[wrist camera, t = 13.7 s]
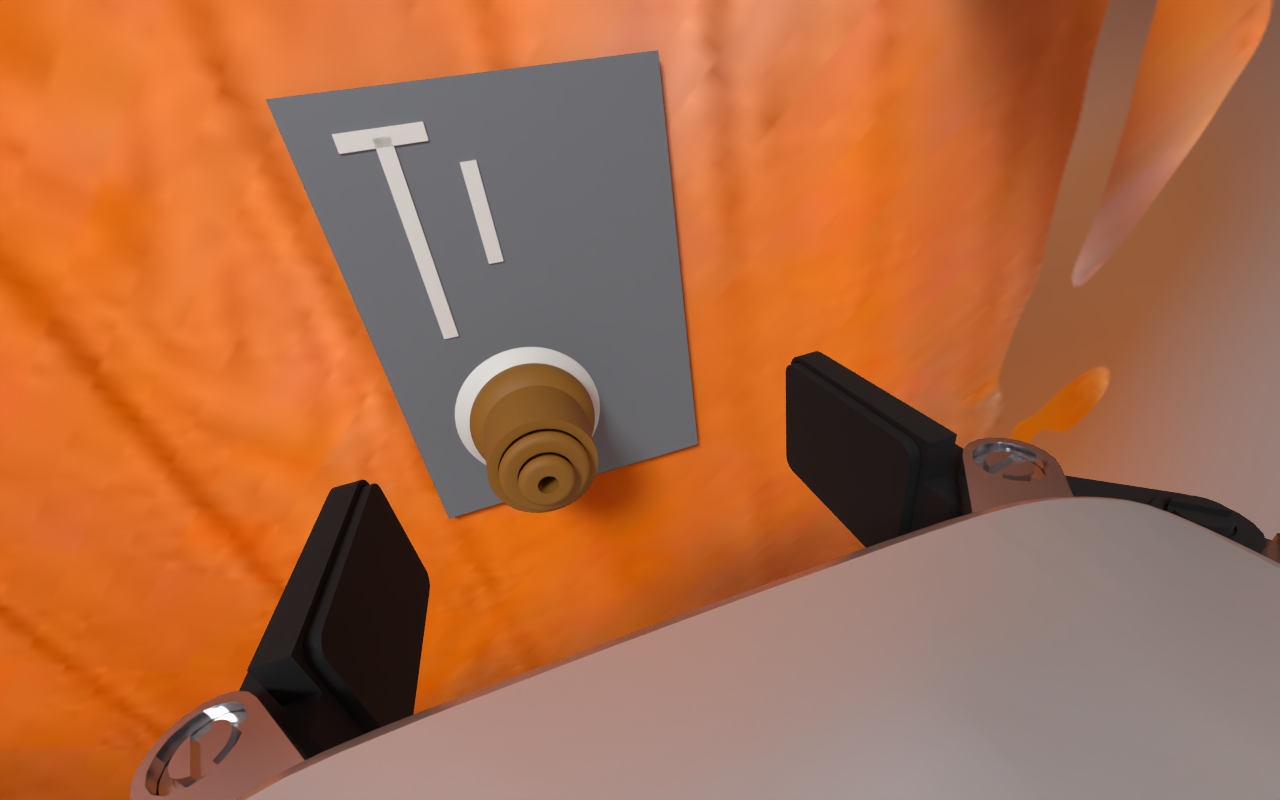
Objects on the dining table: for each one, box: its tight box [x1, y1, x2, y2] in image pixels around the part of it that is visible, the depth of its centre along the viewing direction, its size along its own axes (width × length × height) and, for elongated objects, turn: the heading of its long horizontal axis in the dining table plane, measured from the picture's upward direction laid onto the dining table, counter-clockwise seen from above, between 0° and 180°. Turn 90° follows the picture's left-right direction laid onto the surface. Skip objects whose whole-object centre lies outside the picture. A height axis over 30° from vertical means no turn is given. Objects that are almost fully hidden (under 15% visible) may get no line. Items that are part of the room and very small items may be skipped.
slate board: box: [266, 50, 698, 518], centre depth 28 cm, size 18×24×1 cm
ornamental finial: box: [470, 363, 598, 513], centre depth 27 cm, size 8×8×8 cm
